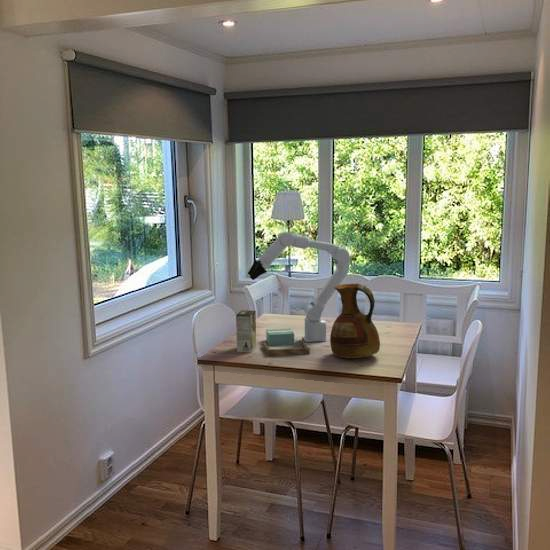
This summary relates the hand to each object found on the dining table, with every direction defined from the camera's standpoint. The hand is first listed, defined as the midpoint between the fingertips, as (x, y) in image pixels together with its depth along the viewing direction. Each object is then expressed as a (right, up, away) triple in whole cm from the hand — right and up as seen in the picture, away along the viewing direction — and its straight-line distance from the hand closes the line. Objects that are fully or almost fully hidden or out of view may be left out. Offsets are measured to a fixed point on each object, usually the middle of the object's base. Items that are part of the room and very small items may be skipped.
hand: (250, 276), depth 260 cm
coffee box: (-1, -31, -7) cm, 32 cm away
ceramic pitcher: (+43, -32, -18) cm, 57 cm away
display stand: (+15, -31, -9) cm, 35 cm away
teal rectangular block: (+13, -29, +4) cm, 32 cm away
